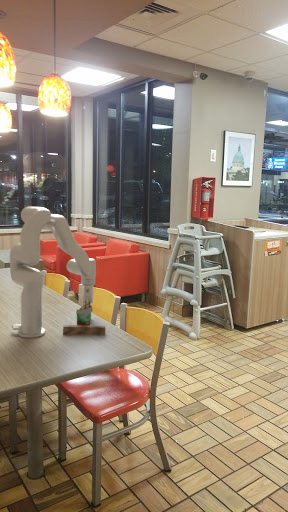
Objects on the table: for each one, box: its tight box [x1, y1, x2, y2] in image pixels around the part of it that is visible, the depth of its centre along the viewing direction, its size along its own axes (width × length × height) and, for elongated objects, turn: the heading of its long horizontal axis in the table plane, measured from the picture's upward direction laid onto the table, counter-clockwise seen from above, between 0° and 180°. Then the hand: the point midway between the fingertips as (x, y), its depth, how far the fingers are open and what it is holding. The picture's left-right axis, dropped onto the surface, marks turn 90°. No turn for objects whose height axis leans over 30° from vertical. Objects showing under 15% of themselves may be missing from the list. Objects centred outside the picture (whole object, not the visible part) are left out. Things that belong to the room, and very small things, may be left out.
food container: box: [75, 303, 94, 325], centre depth 200 cm, size 12×6×10 cm, turn 168°
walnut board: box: [62, 324, 106, 336], centre depth 188 cm, size 20×2×4 cm, turn 95°
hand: (87, 314), depth 213 cm, fingers closed
